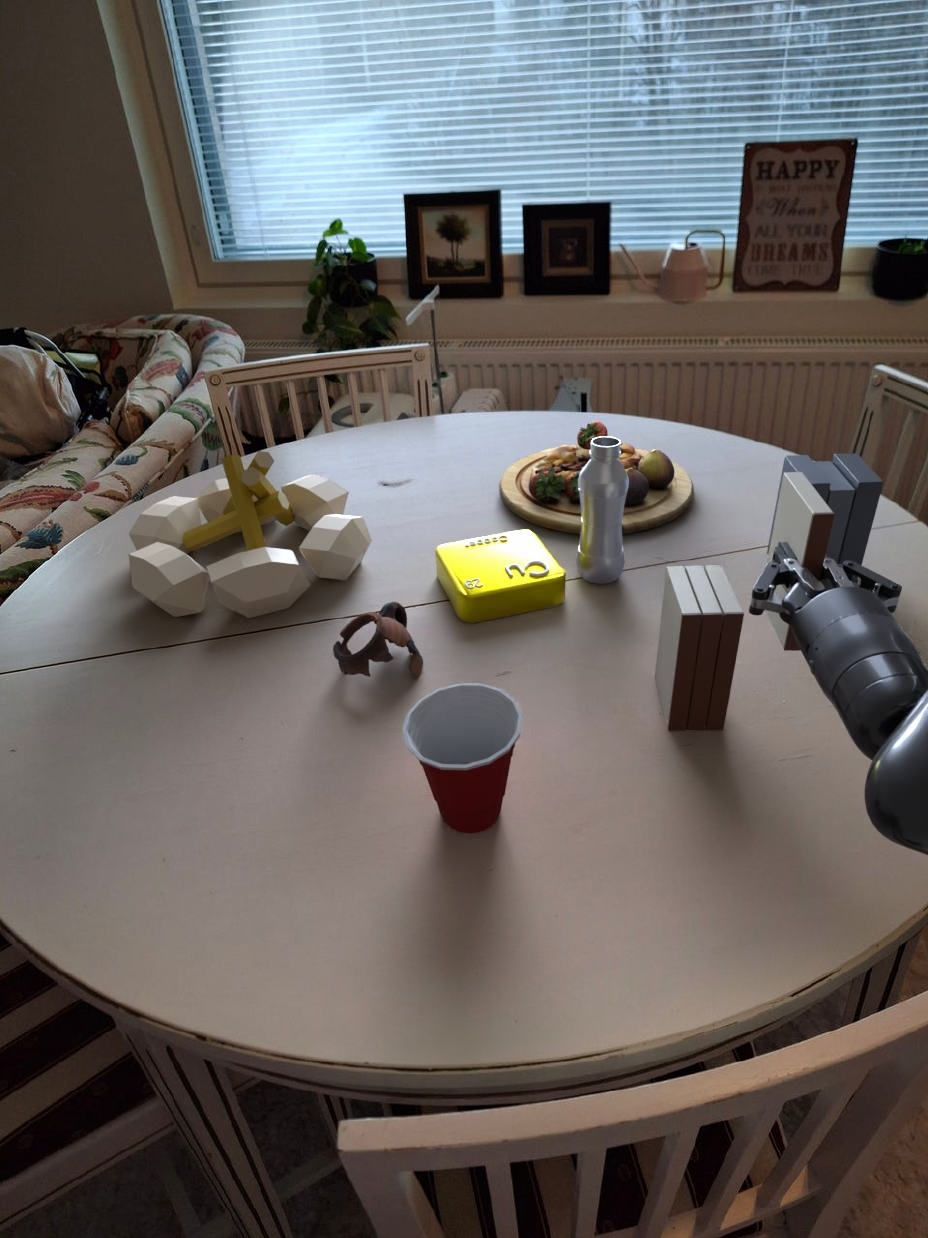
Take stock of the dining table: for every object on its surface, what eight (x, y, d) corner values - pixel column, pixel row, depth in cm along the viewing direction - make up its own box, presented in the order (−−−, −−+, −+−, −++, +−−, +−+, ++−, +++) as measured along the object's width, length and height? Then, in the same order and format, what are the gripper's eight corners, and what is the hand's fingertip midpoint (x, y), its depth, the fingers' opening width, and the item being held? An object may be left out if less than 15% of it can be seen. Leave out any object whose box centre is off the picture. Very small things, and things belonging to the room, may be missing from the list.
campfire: (397, 588, 112) (384, 476, 103) (146, 653, 103) (106, 536, 93) (332, 493, 139) (317, 397, 130) (129, 537, 130) (96, 436, 120)
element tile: (531, 552, 119) (531, 523, 116) (570, 604, 107) (571, 573, 104) (433, 571, 116) (431, 541, 113) (462, 626, 104) (460, 595, 101)
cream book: (776, 600, 87) (802, 471, 79) (803, 650, 79) (835, 514, 71) (759, 600, 87) (783, 472, 79) (784, 650, 80) (813, 514, 71)
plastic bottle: (618, 592, 109) (628, 453, 98) (569, 585, 111) (573, 448, 100) (627, 569, 114) (637, 434, 102) (580, 562, 116) (585, 430, 105)
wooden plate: (531, 447, 152) (531, 405, 147) (705, 465, 141) (710, 420, 137) (471, 523, 127) (469, 475, 123) (675, 551, 117) (681, 499, 112)
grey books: (833, 551, 115) (857, 452, 106) (856, 584, 107) (883, 481, 99) (766, 553, 115) (784, 455, 107) (785, 586, 108) (806, 483, 100)
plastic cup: (396, 795, 80) (383, 703, 73) (493, 759, 84) (489, 668, 77) (439, 874, 72) (429, 779, 65) (545, 831, 75) (545, 736, 69)
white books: (705, 676, 93) (722, 564, 85) (723, 730, 85) (744, 614, 77) (654, 677, 93) (666, 566, 85) (668, 731, 86) (682, 615, 77)
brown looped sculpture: (420, 697, 93) (378, 656, 88) (358, 712, 98) (315, 673, 93) (440, 619, 101) (402, 577, 96) (382, 636, 106) (343, 597, 101)
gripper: (959, 613, 62) (873, 513, 77) (779, 616, 63) (727, 517, 77) (933, 688, 67) (855, 580, 81) (763, 691, 67) (717, 583, 82)
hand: (793, 549), depth 79 cm, fingers closed on cream book, 2 cm apart
